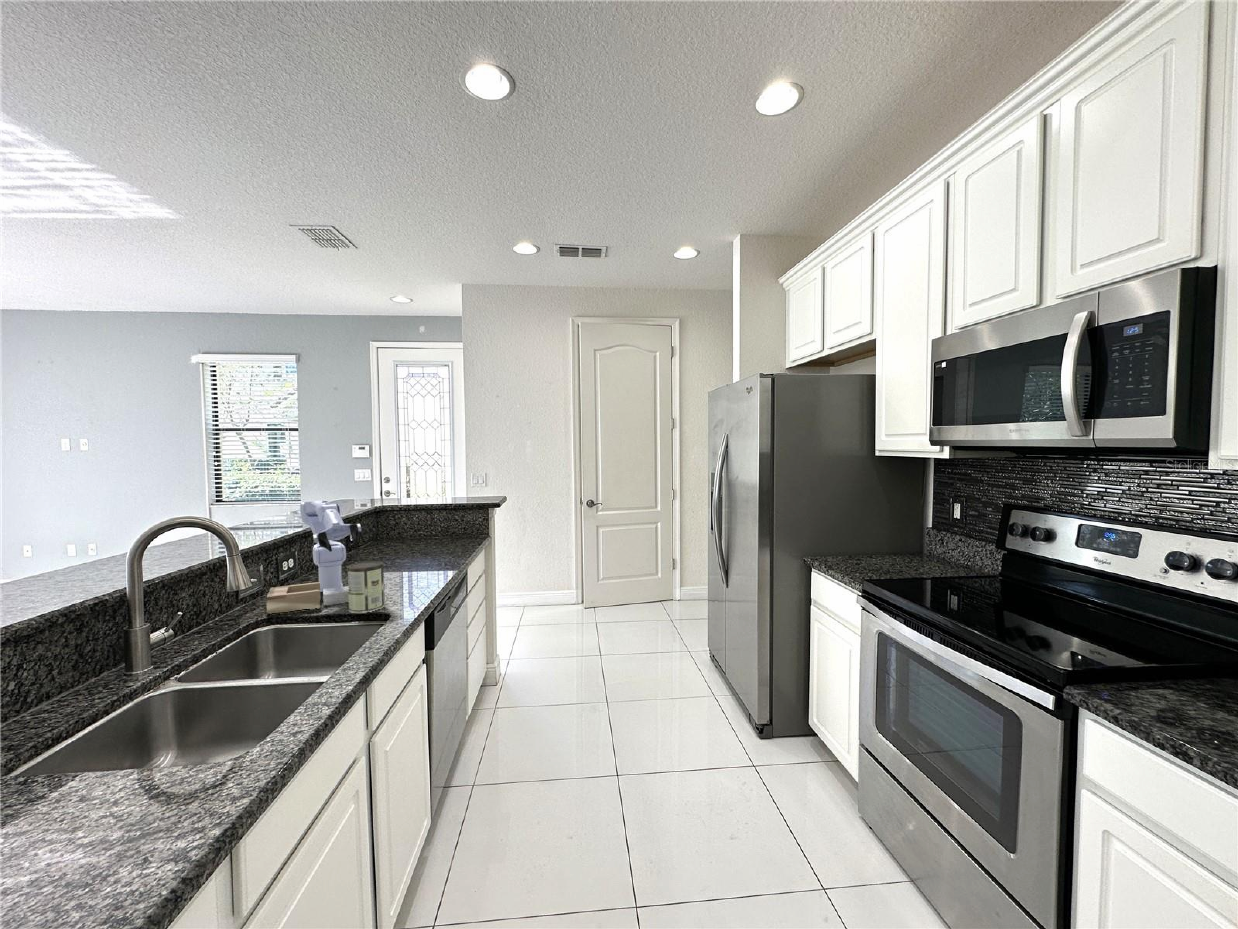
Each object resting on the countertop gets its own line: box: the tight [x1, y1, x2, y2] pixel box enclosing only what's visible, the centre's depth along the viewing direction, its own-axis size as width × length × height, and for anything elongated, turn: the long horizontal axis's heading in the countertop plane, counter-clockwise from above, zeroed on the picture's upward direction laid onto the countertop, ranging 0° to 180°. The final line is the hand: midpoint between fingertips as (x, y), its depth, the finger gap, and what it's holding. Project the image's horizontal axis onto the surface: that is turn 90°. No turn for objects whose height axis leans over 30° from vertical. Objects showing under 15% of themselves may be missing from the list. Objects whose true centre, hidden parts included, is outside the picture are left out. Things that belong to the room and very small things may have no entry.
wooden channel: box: [266, 581, 321, 614], centre depth 168 cm, size 13×14×6 cm
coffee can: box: [346, 560, 385, 614], centre depth 165 cm, size 10×10×14 cm
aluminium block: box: [322, 585, 349, 607], centre depth 174 cm, size 8×10×4 cm
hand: (343, 545), depth 173 cm, fingers open, 7 cm apart
